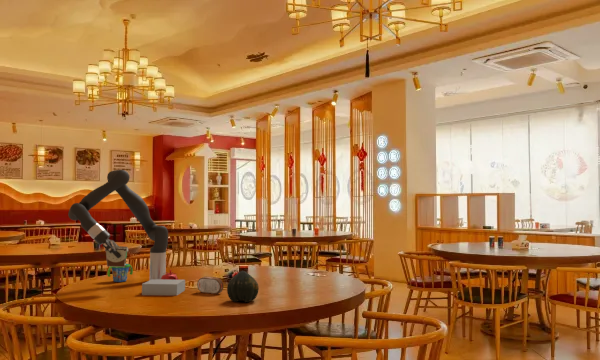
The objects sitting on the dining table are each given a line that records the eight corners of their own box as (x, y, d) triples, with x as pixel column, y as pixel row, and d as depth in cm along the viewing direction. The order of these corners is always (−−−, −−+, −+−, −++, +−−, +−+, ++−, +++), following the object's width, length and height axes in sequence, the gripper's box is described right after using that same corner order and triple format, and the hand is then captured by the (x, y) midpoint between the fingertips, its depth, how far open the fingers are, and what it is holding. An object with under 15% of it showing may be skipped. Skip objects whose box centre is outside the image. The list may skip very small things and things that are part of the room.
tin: (223, 294, 264) (223, 277, 264) (220, 295, 261) (220, 278, 261) (199, 291, 270) (200, 275, 271) (196, 292, 267) (196, 276, 268)
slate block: (151, 290, 275) (152, 279, 276) (184, 290, 275) (185, 279, 275) (141, 295, 259) (142, 283, 260) (176, 296, 259) (177, 284, 259)
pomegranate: (156, 287, 284) (157, 270, 285) (167, 284, 293) (168, 268, 294) (171, 288, 280) (171, 271, 281) (182, 285, 290) (182, 269, 290)
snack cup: (128, 279, 314) (128, 262, 314) (136, 281, 306) (136, 264, 306) (103, 281, 303) (103, 264, 303) (111, 283, 295) (111, 266, 296)
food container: (132, 265, 270) (132, 246, 270) (127, 266, 264) (127, 247, 264) (109, 264, 271) (110, 246, 271) (104, 266, 265) (104, 247, 265)
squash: (241, 294, 233) (254, 267, 242) (217, 292, 240) (230, 266, 250) (256, 311, 241) (268, 284, 250) (231, 308, 249) (244, 283, 258)
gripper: (100, 229, 260) (123, 252, 261) (108, 228, 274) (130, 250, 275) (89, 240, 259) (112, 263, 260) (97, 238, 274) (119, 260, 274)
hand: (121, 256), depth 268 cm, fingers closed on food container, 6 cm apart
